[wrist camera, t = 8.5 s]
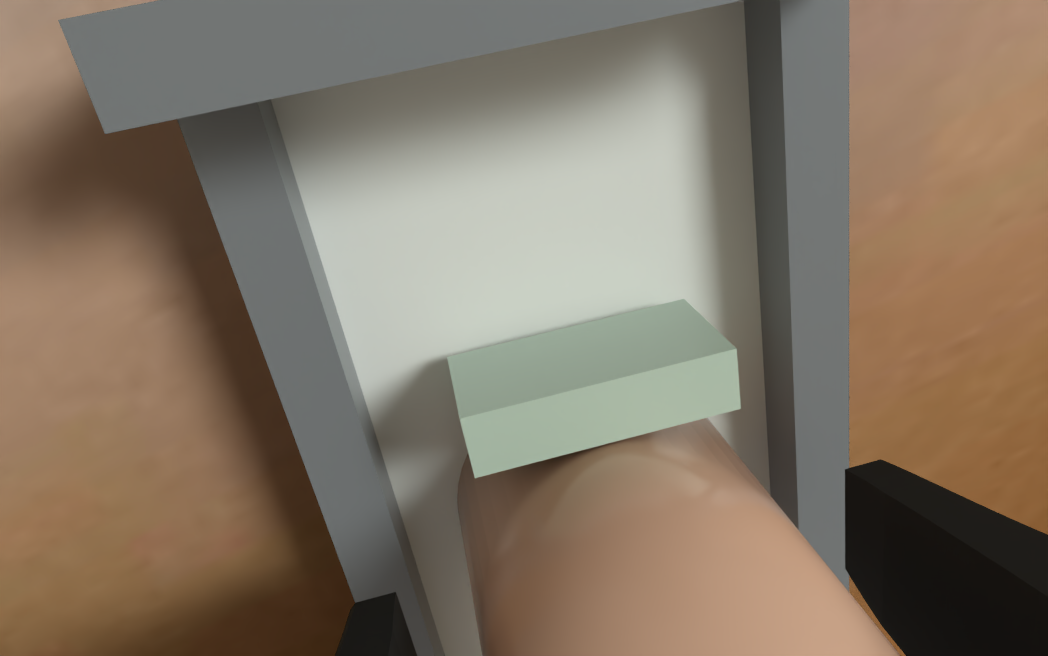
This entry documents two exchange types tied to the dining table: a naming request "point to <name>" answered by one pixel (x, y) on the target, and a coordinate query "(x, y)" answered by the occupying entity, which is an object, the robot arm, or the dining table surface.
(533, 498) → the terracotta jar
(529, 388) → the plate
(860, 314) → the dining table surface
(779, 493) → the pusher lane
